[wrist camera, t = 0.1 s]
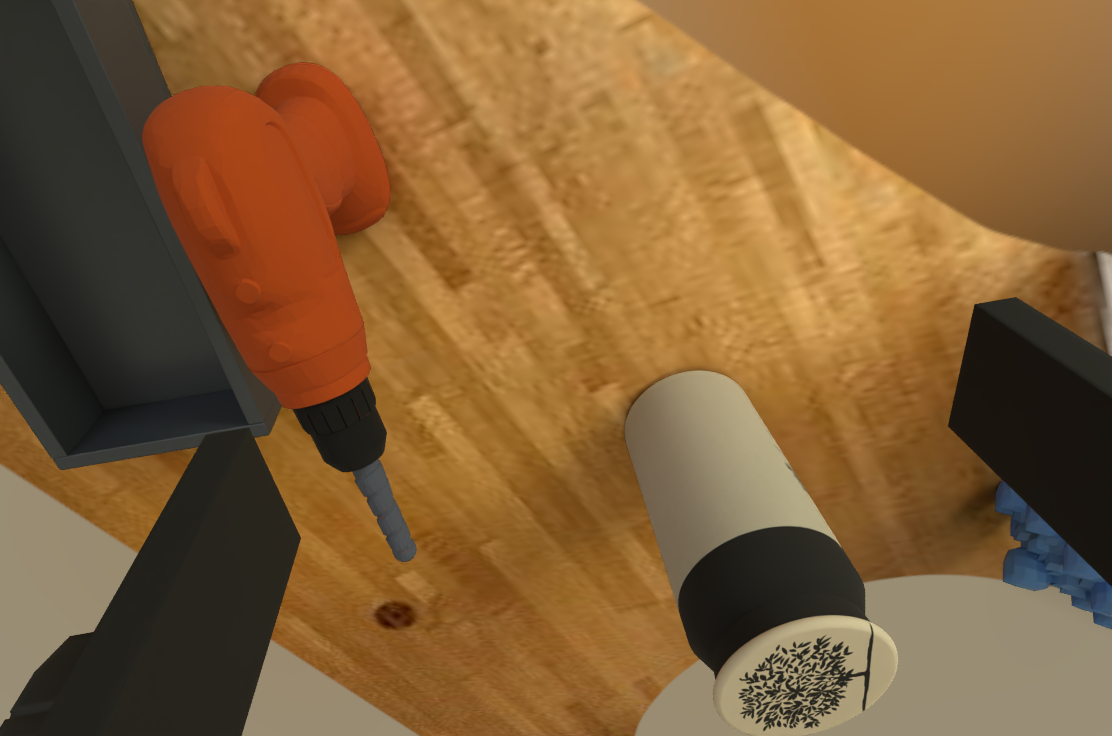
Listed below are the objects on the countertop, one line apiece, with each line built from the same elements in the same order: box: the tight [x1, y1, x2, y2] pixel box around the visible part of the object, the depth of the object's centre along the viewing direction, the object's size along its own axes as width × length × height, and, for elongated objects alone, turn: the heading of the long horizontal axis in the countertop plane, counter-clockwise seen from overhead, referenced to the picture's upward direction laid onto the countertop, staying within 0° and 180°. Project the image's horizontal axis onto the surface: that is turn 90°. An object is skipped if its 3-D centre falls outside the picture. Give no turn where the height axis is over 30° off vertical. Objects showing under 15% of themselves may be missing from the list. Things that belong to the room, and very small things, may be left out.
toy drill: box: [142, 63, 417, 562], centre depth 27 cm, size 5×19×15 cm, turn 15°
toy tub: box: [0, 0, 282, 470], centre depth 29 cm, size 25×11×5 cm, turn 8°
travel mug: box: [625, 371, 898, 736], centre depth 34 cm, size 8×8×18 cm
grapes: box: [995, 481, 1112, 629], centre depth 43 cm, size 12×7×12 cm, turn 38°
